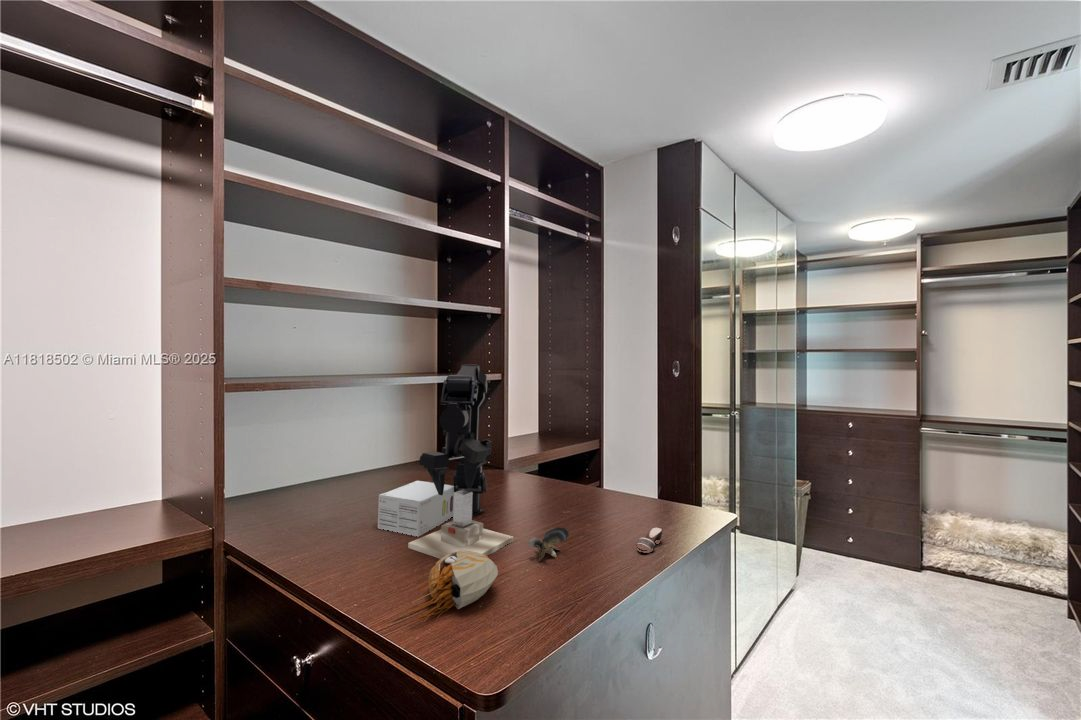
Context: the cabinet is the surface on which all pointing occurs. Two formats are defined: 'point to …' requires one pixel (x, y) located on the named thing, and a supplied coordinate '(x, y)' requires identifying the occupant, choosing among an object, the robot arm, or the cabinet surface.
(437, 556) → the birch stand
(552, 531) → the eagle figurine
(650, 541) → the heeled mule
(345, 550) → the cabinet surface
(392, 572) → the cabinet surface
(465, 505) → the steel post
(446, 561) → the nautilus
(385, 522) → the supplement box
